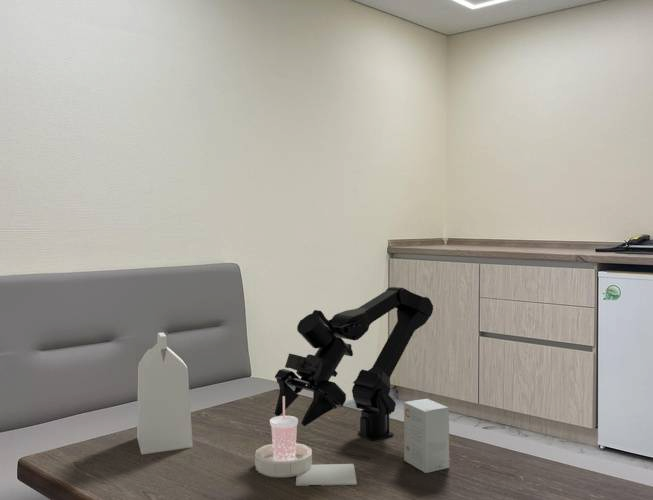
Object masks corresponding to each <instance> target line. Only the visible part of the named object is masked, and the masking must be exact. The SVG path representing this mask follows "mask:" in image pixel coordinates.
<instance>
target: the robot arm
mask: <svg viewBox="0 0 653 500" xmlns="http://www.w3.org/2000/svg"><path fill="white" fill-rule="evenodd" d="M395 308H396V319H397V321H396V323H395V325H394V327H393V329H392V330H391V333H390V334H389V336H388V338H387V340H386V342H385V343H384V345H383V347H382V349H381V351H380V353H379V354H378V356H377V358H376V360H375V361H374V364H373V365H372V367H371V368H369V369H368V370H366V369H361V370H359V373H358V375H357V377H356V378H355V380H354V381H353V382H352V384H353V386H352V390H351V393H352V398H353V400H354V403H355V407H356V409H361V411H360V412H361V414H360V417H359V428H360V429H359V430H358V431H357V434H358V435H360V436H362V437H364V438H366V439H368V440H370V441H376V440H377V441H378V440H382V439H385V438H389V437H390V438H391V437H394V433H393V432H390V415H391V414H392V413H394V412H395V411H396V405H397V404H396V401H395V400H394V399H393V398H392V397H391V396H390V393H391V376H392V375H393V372H394V371H395V369H396V367H397V365H398V363H399V361H400V360H401V358H402V355H403V354H404V351H406V348H407V346H408V345H409V342H410V341H411V338H412V336H413V334H414V333H415V332H416V331H417V330H418V329H419V328H421V327H423V326H424V325H425V324H426V323H427V321H428V320H429V319H430V317H431V316H432V314H433V310H434V305H433V302H432V300H431V299H430V298H429V297H428V296H421V295H419V294H417V293H414V292H412V291H410V290H408V289H406V288H405V287H397V286H390V287H388V288H387V289H386V290H385V291H384V292H382V293H380V294H378V295H377V296H375V297H374V298H372V299H371V300H368V301H367V302H365V303H364V304H362V305H360V306H359V307H358V308H355V309H354V308H353V309H346V310H344V311H341V312H339V313H336V314H334V315H333V316H332V318H331V319H328V318H327V317H326V316H325V314H324V313H323V311H322V310H317V309H314V310H313V311H312V313H309V314H307V315H306V316H304V317H303V318H302V319H300V321H299V322H298V323H297V326H296V327H297V328H296V330H297V332H298V333H299V335H300V336H301V337H302V338H303V339H304V340H305V341H306V342H307V343H308V344H309V345H310V346H311V347H312V348H314V349H317V351H316V352H315V354H309V353H308V354H307V355H306V357H305V356H302V355H298V354H293V353H288V356H287V359H286V362H285V365H284V368H282V369H278V371H277V372H276V374H275V376H274V378H275V379H276V383H277V384H278V388H279V391H278V392H279V393H278V399H277V403H276V407H275V410H274V415H275V417H276V416H282V415H283V396H285V411H286V410H287V409H288V408H289V407H290V406H291V405H292V403H294V402H295V400H297V398H299V396H300V395H299V393H301V392H302V390H306V391H309V392H313V394H312V395H313V397H312V398H313V399H312V401H311V403H310V405H309V407H308V408H307V411H306V412H305V414H304V415H303V418H302V420H301V426H302V427H306V426H308V425H310V424H311V423H312V422H313V421H315V420H317V419H318V418H320V417H321V416H323V415H325V414H326V413H328V412H331V410H336V409H338V407H339V408H342V407H343V406H344V404H345V403H346V400H347V394H346V393H345V392H344V390H343V389H342V388H341V387H340V386H339V385H338V384H337V383H336V382H335V381H330V380H331V378H332V377H335V378H336V377H337V376H338V374H339V373H338V372H337V371H336V369H337V368H338V366H339V364H341V361H342V360H343V358H344V357H345V356H348V357H353V355H354V352H353V349H352V344H351V343H346V342H345V341H344V340H343V339H345V340H350V341H359V339H362V337H363V336H364V335H365V334H366V333H367V332H368V331H369V328H370V325H371V324H373V323H374V322H375V321H377V320H378V319H380V318H382V317H383V316H384V315H386V314H387V313H389V312H390V311H393V310H394V309H395ZM289 369H291V370H289ZM292 370H294V371H296V373H295V372H294V371H292ZM296 374H297V375H296Z"/></svg>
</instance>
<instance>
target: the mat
mask: <svg viewBox="0 0 653 500" xmlns="http://www.w3.org/2000/svg"><path fill="white" fill-rule="evenodd" d="M295 477H296V478H295V479H296V480H295V486H297V487H302V486H303V487H310V486H309V485H321V486H356V485H358V484H357V477H356V470H355V465H354V463H332V464H329V463H328V464H326V463H325V464H320V463H319V464H312V466H311V468H310V469H309V470H307V471H305V472H303V473H300V474H297V476H295Z"/></svg>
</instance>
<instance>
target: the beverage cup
mask: <svg viewBox="0 0 653 500" xmlns="http://www.w3.org/2000/svg"><path fill="white" fill-rule="evenodd" d="M298 425H299V418H298V417H296V416H294V415H293V416H292V415H286V410H285V396H283V413H282V415H279V416H276V415H275V416H273V417H271V418H270V419H269V426H270V429H271V440H272V441H271V442H272V443H271V444H273V458H274V461H292V460H295V454H296V443H297V433H298V432H297V430H298Z"/></svg>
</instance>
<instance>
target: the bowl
mask: <svg viewBox="0 0 653 500" xmlns="http://www.w3.org/2000/svg"><path fill="white" fill-rule="evenodd" d="M312 450H313V449H312V448H311V447H310V446H307V445H306V444H302V443H297V442H296V454H295V460H292V461H274V458H273V443H270V444H265V445H263V446H262V447H259V448H257V449H256V450H255V455H254V466H255V471H256V472H257V471H258V472H257V473H258V474H260V473H261V474H260V475H262V474H263V475H262V476H265V477H269V478H277V479H278V478H279V479H280V478H282V479H283V478H291V477H297V474H300V473H303V472H305V471H307V470H309V469H310V468H311V466H312V465H313V451H312Z"/></svg>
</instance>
